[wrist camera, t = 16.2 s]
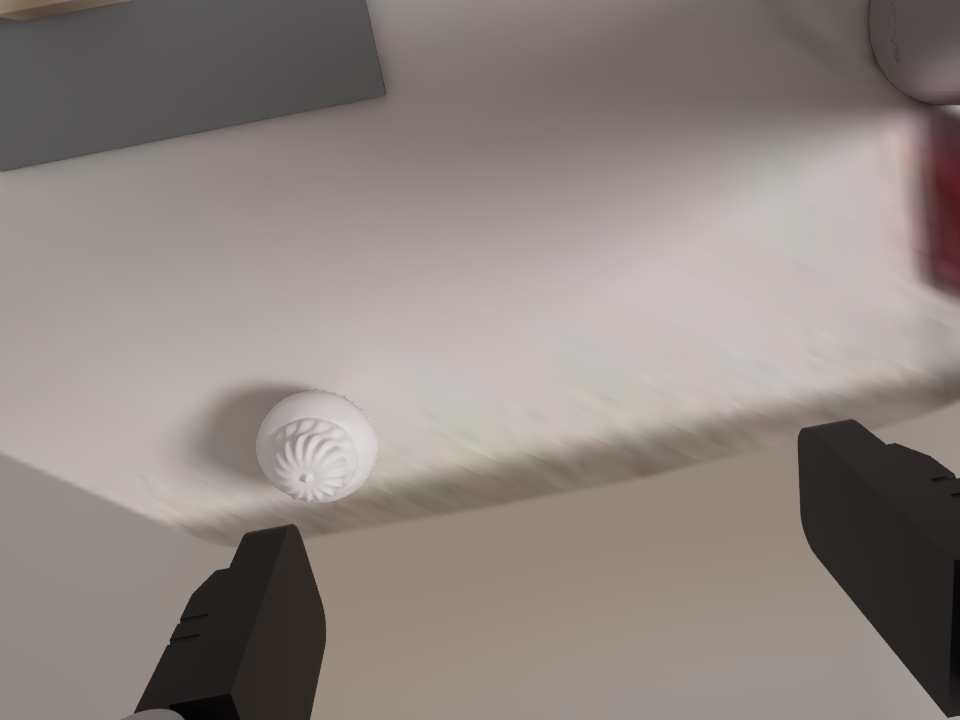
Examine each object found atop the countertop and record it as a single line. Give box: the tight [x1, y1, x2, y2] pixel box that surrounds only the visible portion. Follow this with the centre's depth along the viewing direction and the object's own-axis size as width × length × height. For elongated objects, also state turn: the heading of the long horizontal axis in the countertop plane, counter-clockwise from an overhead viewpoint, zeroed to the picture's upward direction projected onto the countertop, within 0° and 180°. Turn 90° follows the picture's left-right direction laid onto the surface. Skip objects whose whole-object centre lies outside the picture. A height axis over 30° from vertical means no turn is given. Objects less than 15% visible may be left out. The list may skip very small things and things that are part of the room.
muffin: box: [256, 389, 378, 503], centre depth 38 cm, size 6×6×7 cm
